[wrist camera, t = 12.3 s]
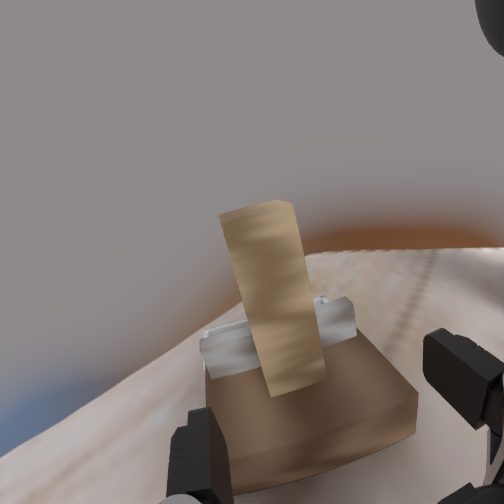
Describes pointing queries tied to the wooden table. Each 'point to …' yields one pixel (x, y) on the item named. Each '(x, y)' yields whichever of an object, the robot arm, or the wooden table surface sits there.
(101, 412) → the wooden table surface
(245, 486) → the board
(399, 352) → the wooden table surface
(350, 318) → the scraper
